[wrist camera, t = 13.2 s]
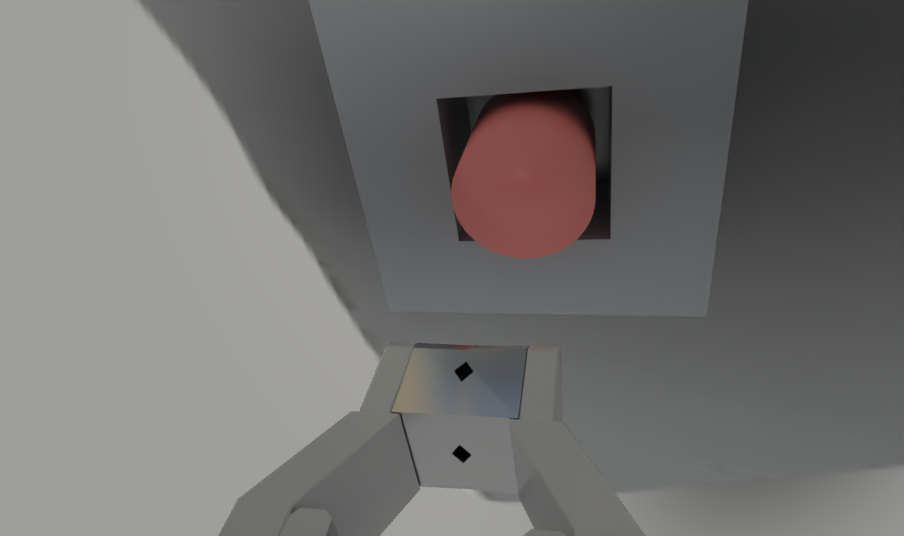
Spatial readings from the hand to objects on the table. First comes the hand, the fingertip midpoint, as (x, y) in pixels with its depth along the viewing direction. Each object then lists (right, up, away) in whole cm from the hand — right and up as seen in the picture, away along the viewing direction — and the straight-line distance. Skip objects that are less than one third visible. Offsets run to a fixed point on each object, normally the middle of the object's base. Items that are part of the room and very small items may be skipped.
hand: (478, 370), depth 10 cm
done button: (+2, +6, +7) cm, 9 cm away
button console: (+2, +7, +9) cm, 11 cm away
